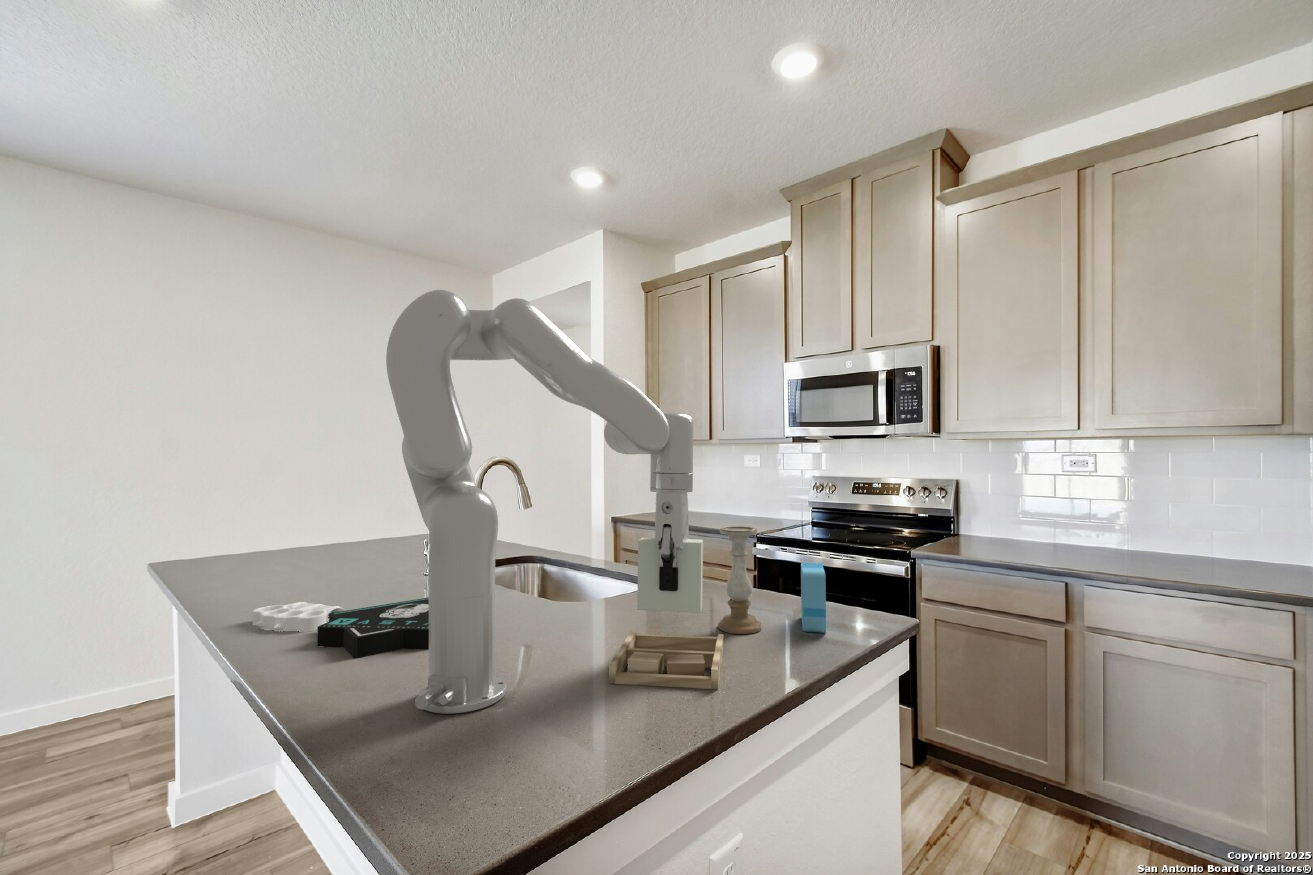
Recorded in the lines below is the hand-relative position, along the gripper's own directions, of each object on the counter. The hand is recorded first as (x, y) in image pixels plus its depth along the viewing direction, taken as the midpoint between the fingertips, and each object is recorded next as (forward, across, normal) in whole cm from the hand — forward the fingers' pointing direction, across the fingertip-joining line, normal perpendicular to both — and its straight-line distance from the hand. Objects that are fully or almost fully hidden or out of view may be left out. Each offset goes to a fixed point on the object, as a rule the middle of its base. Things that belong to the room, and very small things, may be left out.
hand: (670, 586), depth 106 cm
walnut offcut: (+13, -8, -4) cm, 15 cm away
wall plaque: (+14, +8, +56) cm, 59 cm away
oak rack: (+13, -4, -1) cm, 13 cm away
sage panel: (+4, 0, 0) cm, 4 cm away
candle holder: (+12, +20, -12) cm, 26 cm away
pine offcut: (+13, -8, +3) cm, 15 cm away
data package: (+12, +24, -27) cm, 38 cm away
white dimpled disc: (+14, +11, +83) cm, 85 cm away
